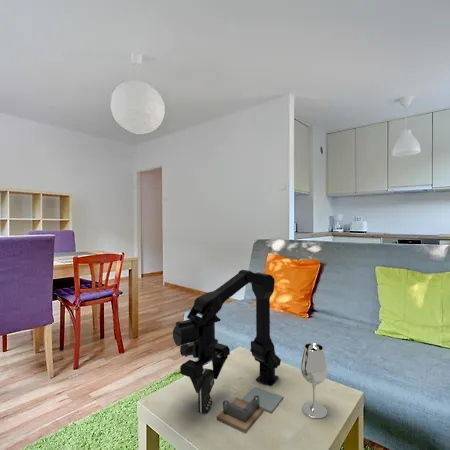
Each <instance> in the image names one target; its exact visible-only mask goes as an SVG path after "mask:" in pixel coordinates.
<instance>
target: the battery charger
mask: <svg viewBox="0 0 450 450" xmlns="http://www.w3.org/2000/svg"><path fill="white" fill-rule="evenodd" d="M202 374H204V376H203V380H202V385H201V389H200V393H197V399H198V402H197V403H198V407H197V408H198V413H200V414H201V413H203V414H206V413H209V411H210V409H211V406H212V404H213V399H212V397H211V395H210V394H211V392H212V390H213V387H214V385H215V379H214V372H213V368H212V369H211V368H203V373H202Z"/></svg>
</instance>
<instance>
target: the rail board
mask: <svg viewBox="0 0 450 450" xmlns="http://www.w3.org/2000/svg"><path fill="white" fill-rule="evenodd" d="M241 399H242V398H239V397H235V398H234V399H233V400H232V401H231V402H230V403H231V404H234V405H236V406H239V407H241V408H243V409H244V408H245V407H246V406H247V405H248V404H249V402H246V401H244V400H241ZM264 412H265V411H264V408H262V407H260V408H259V409H257V410H256V411H255V412H254V414H253V415H252V416H251V417H250V418H249V419H248V421H247V422H246V423H245V422H243V421H241V420H238V419H236V418H234V417H232V416H229V415H227V414H224V413H223V410H222V411H221V412H220V413H218V414H217V415H216V421H219V422H221V423H224V424H225V425H227V426H230V427H232V428H233V429H236V430H238V431H240V432H242V433H244V434H246V433H247V432H248V431H249V430H250V429H251V427H252V426H253V425H254V424H255V423H256V421H257V420H258V419H260V418H259V417H260V416H261V415H262V414H263V413H264Z"/></svg>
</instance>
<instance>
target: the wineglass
mask: <svg viewBox="0 0 450 450" xmlns="http://www.w3.org/2000/svg"><path fill="white" fill-rule="evenodd" d="M300 362H301V364H300V371H301V376H302V377H303V378H304V379H305V380H306V382H308V383H309V384H311V385H312V401H309V402H305V403H303V404H302V406H301V410H302V412H303V414H305V416H307V417H309V418H313V419H322V418H323V419H324V418H325V417H326V416H327V415H328V410H327V408H326V407H325V406H324V405H323V404H321V403H318V402H316V389H317V388H316V387H317V385H320V384H322V383H323V382H324V381H325V380H326V378H327V377H328V365H327V364H328V363H327V360H326V354H325V351H324V346H322V345H321V344H319V343H314V342H310V343H309V342H308V343H305V344H304V347H303V351H302V356H301V361H300Z"/></svg>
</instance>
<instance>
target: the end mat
mask: <svg viewBox="0 0 450 450" xmlns="http://www.w3.org/2000/svg"><path fill="white" fill-rule="evenodd" d="M254 396H259V406H260V407H262V408H264V412H267V413H269V414H273V413H274V411H275V410H276V409H277V407H278V406H279V405H280V403H281V402H282V401H283V400H284V396H283V395H281V394H277V393H274V392H271V391H268V390H265V389H263V388H260V387H257V386H252V388H250V389H249V391H248V392H247V393H246V394H245V395H244V396H243V397H242V398H240V399H241V400H244V401H246V402H249V403H250V402H251V401H252V400H253V399H254Z"/></svg>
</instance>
